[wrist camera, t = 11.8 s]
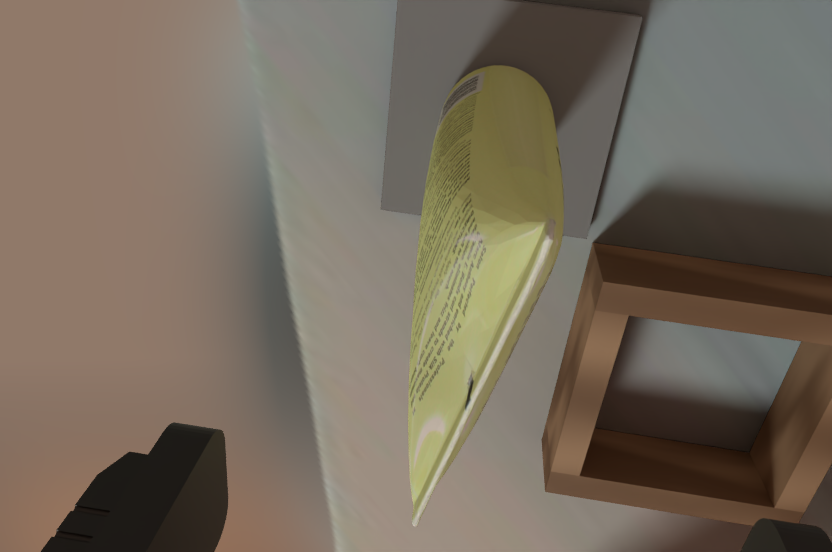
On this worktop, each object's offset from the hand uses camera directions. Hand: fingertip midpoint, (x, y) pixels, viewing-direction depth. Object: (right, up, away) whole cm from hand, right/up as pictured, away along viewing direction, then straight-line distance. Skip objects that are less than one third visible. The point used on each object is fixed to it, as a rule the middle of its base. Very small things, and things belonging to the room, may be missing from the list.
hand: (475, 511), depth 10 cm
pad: (+3, +11, +20) cm, 23 cm away
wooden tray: (+14, -1, +25) cm, 29 cm away
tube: (+3, +10, +20) cm, 22 cm away
